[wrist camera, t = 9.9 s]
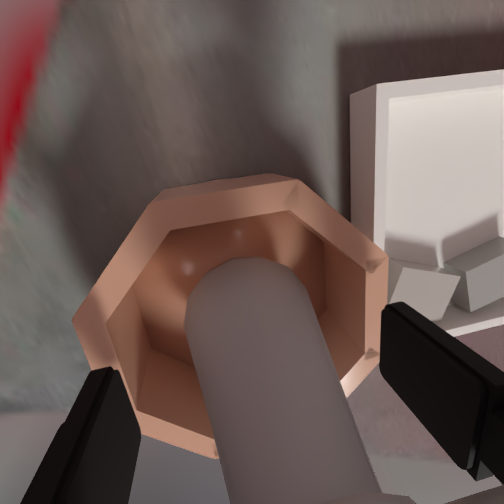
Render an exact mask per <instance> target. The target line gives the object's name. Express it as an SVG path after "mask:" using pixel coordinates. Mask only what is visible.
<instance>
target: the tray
mask: <svg viewBox="0 0 504 504" xmlns="http://www.w3.org/2000/svg"><path fill="white" fill-rule="evenodd" d="M350 186H351V224H352V225H353V226H355V227H356V228H357V229H358V230H359V231H360V232H362V233H363V234H364V235H365V236H366V237H368V238H369V239H370V240H371V241H372V242H373V243H375V244H376V245H377V246H378V247H379V248H380V249H382V250H383V251H384V252H385V253H386V254H388V256H389V258H392V259H398V260H403V261H409V262H415V263H421V264H427V265H433V266H439V267H441V268H443V269H444V265H443V262H446V261H448V260H450V259H452V258H454V257H456V256H458V255H460V254H462V253H465V252H467V251H469V250H471V249H473V248H475V247H477V246H479V245H481V244H483V243H486V242H488V241H490V240H492V239H494V238H496V237H498V236H499V237H503V238H504V69H503V70H494V71H485V72H476V73H468V74H459V75H450V76H441V77H432V78H424V79H415V80H406V81H397V82H388V83H380V84H375V85H373V86H370V87H368V88H365V89H363V90H360V91H358V92H355V93H353V94H350ZM430 321H431V320H430ZM432 322H433V323H435V324H436V325H437V326H439V327H440V328H442V329H443V330H445V331H446V332H447V333H449V334H450V335H452V336H453V337H455V336H459V335H463V334H467V333H471V332H475V331H479V330H483V329H487V328H490V327H494V326H498V325H502V324H504V297H502V298H500V299H498V300H495V301H493V302H491V303H489V304H487V305H485V306H483V307H481V308H479V309H477V310H475V311H473V312H469V311H467V310H465V309H464V308H462V307H460V306H458V305H457V304H455V303H453V302H451V301H450V302H449V304H448V306H447V308H446V310H445V313H444V315H443V317H442V319H441V321H432Z"/></svg>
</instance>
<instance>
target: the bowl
mask: <svg viewBox="0 0 504 504" xmlns="http://www.w3.org/2000/svg"><path fill="white" fill-rule="evenodd" d="M241 257H263V258H266V259H269V260H272V261H274V262H277V263H280V264H283V265H285V266H287V267H289V268H290V269H291V270H292V271H293V273H294V274H295V275H296V276H297V277H298V279H299V280H300V281H301V282H302V284H303V285H304V286H305V287H306V289H307V292H308V295H309V297H310V300H311V303H312V306H313V308H314V311H315V314H316V317H317V319H318V322H319V325H320V328H321V330H322V333H323V336H324V339H325V341H326V344H327V347H328V349H329V352H330V355H331V358H332V360H333V363H334V366H335V369H336V371H337V374H338V377H339V380H340V382H341V385H342V388H343V391H344V393H345V396H346V398H347V397H348V396H349V395H350V394H351V393H352V391H353V390H354V389H355V388H356V387H357V386H358V385H359V384H360V383H361V382H362V381H363V379H364V378H365V377H366V376H367V375H368V374H369V373H370V372H371V371H372V370H373V368H374V367H375V366H376V365H377V364H378V363H379V362H380V331H381V311H382V310H383V309H384V307H385V305H387V291H388V265H389V256H388V254H386V253H385V252H384V251H383V250H382V249H380V248H379V247H378V246H377V245H376V244H375V243H373V242H372V241H371V240H370V239H369V238H368V237H366V236H365V235H364V234H363V233H362V232H360V231H359V230H358V229H357V228H356V227H355V226H353V225H352V224H351V223H350V222H349V221H348V220H346V219H345V218H344V217H343V216H342V215H340V214H339V213H338V212H337V211H336V210H335V209H333V208H332V207H331V206H330V205H329V204H328V203H326V202H325V201H324V200H323V199H322V198H320V197H319V196H318V195H317V194H316V193H315V192H313V191H312V190H311V189H310V188H309V187H308V186H306V185H305V184H304V183H303V182H302V181H300V180H299V179H295V178H290V177H286V176H281V175H277V174H272V173H266V174H259V175H252V176H246V177H239V178H227V179H216V180H212V181H207V182H203V183H199V184H192V185H186V186H179V187H173V188H166V189H164V190H162V191H161V192H160V193H159V194H158V195H157V196H156V197H155V198H154V199H153V200H152V201H151V202H150V203H149V204H148V206H147V207H146V209H145V210H144V212H143V213H142V215H141V216H140V218H139V219H138V221H137V222H136V224H135V225H134V227H133V228H132V230H131V231H130V233H129V234H128V236H127V237H126V239H125V240H124V242H123V243H122V245H121V246H120V248H119V249H118V251H117V252H116V254H115V255H114V257H113V258H112V260H111V261H110V263H109V264H108V266H107V267H106V269H105V270H104V271H103V273H102V274H101V276H100V277H99V279H98V280H97V282H96V283H95V285H94V286H93V288H92V289H91V291H90V292H89V294H88V295H87V297H86V298H85V300H84V301H83V303H82V304H81V306H80V307H79V309H78V310H77V312H76V313H75V315H74V316H73V318H72V323H73V325H74V328H75V330H76V333H77V335H78V338H79V340H80V343H81V345H82V347H83V350H84V352H85V355H86V357H87V360H88V362H89V365H90V367H91V370H95V369H100V368H104V367H109V366H111V367H112V368H113V369H114V370H116V369H117V370H119V372H120V374H121V377H122V380H123V382H124V385H125V388H126V390H127V393H128V396H129V399H130V401H131V404H132V407H133V410H134V412H135V415H136V418H137V421H138V423H139V426H140V429H141V434H143V435H146V436H149V437H152V438H155V439H158V440H161V441H164V442H167V443H169V444H173V445H175V446H178V447H181V448H184V449H187V450H190V451H192V452H196V453H198V454H201V455H204V456H207V457H210V458H213V459H215V458H216V459H218V458H219V456H218V452H217V448H216V443H215V439H214V435H213V431H212V427H211V423H210V420H209V416H208V412H207V409H206V405H205V402H204V398H203V394H202V391H201V387H200V384H199V380H198V376H197V373H196V369H195V366H194V362H193V358H192V355H191V351H190V348H189V344H188V340H187V337H186V333H185V330H184V319H185V313H186V306H187V299H188V297H189V294H190V293H191V292H192V290H193V289H194V288H195V286H196V285H197V284H198V283H199V281H200V280H201V279H202V277H203V276H204V275H205V274H206V272H208V271H210V270H212V269H213V268H215V267H217V266H219V265H220V264H222V263H224V262H226V261H227V260H229V259H231V258H241Z"/></svg>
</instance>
